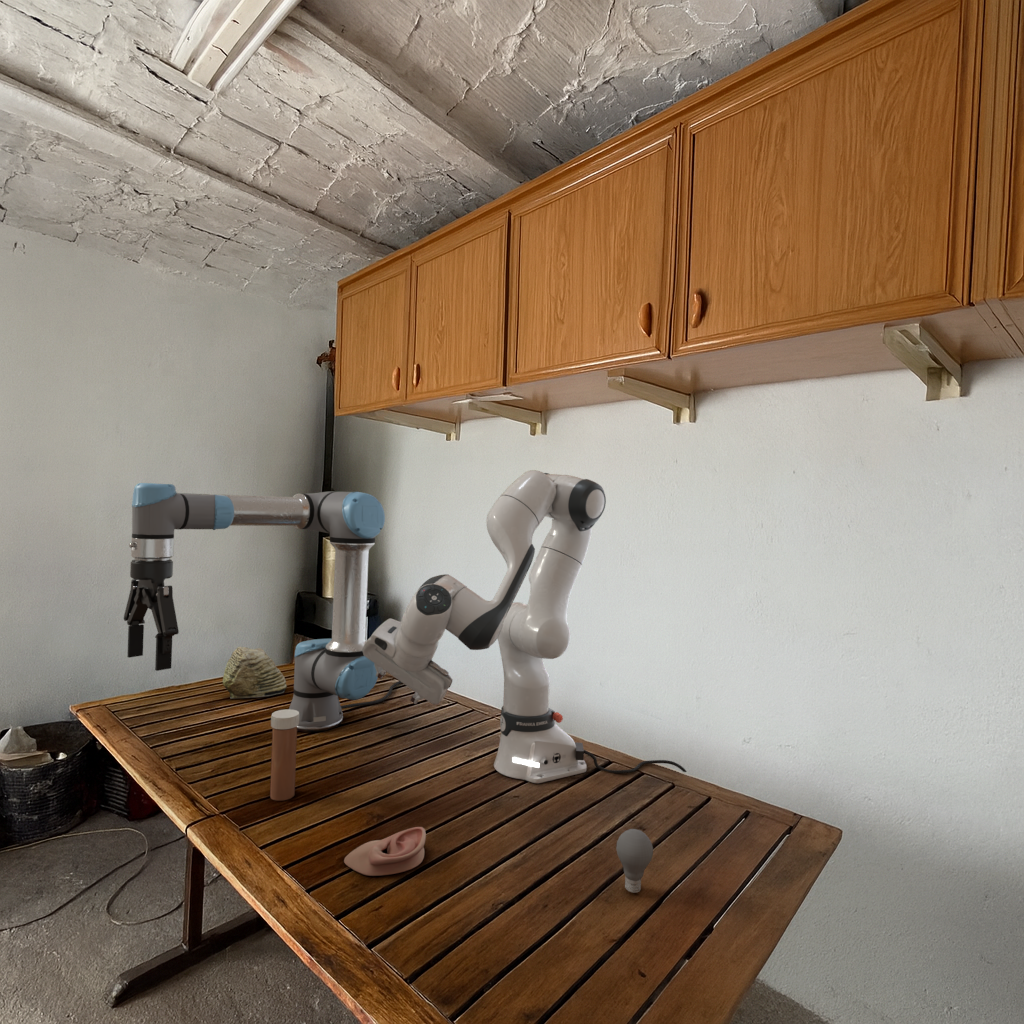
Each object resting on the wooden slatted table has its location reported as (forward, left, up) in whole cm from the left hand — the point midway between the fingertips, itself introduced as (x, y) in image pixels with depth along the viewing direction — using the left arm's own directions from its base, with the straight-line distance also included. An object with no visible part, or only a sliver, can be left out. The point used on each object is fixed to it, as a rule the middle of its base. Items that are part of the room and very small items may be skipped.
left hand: (148, 662), depth 129 cm
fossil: (-50, -47, -28) cm, 74 cm away
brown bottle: (-20, +19, -28) cm, 39 cm away
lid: (-20, +19, -11) cm, 29 cm away
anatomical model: (-19, +53, -28) cm, 63 cm away
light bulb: (-41, +90, -28) cm, 103 cm away
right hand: (-38, +33, -6) cm, 51 cm away
